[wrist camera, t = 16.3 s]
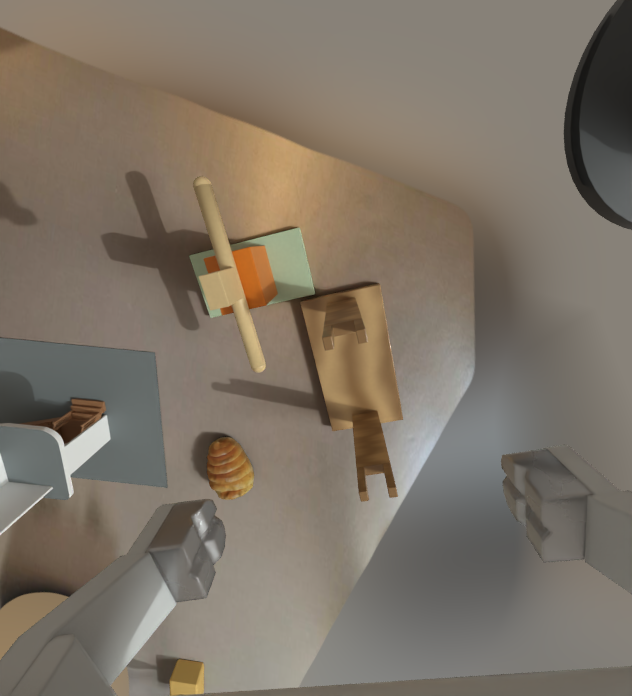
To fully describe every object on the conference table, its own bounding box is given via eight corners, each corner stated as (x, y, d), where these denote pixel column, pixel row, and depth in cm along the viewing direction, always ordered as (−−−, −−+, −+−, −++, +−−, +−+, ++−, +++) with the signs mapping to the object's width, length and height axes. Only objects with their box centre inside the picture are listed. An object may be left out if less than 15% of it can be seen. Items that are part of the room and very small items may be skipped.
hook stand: (379, 283, 39) (404, 309, 25) (401, 415, 45) (432, 499, 30) (300, 300, 41) (281, 335, 26) (332, 426, 46) (331, 513, 32)
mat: (299, 227, 38) (299, 227, 37) (315, 293, 40) (314, 294, 40) (191, 255, 40) (188, 255, 39) (212, 316, 42) (210, 317, 41)
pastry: (201, 437, 48) (191, 453, 45) (244, 431, 48) (237, 447, 44) (219, 486, 51) (210, 505, 48) (259, 481, 51) (253, 500, 47)
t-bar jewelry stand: (248, 183, 36) (202, 154, 24) (291, 344, 42) (273, 388, 30) (207, 195, 37) (141, 173, 24) (255, 352, 42) (223, 398, 30)
